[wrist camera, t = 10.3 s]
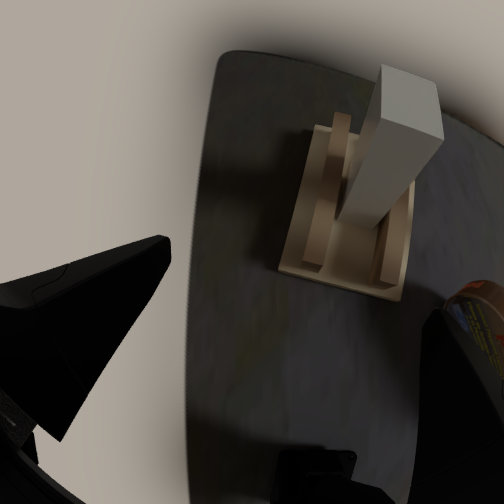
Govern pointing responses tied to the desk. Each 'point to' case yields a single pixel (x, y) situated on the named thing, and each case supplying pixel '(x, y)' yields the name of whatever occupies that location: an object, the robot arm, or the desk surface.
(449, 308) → the tin
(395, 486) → the desk surface
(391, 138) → the clay bar
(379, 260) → the rack
